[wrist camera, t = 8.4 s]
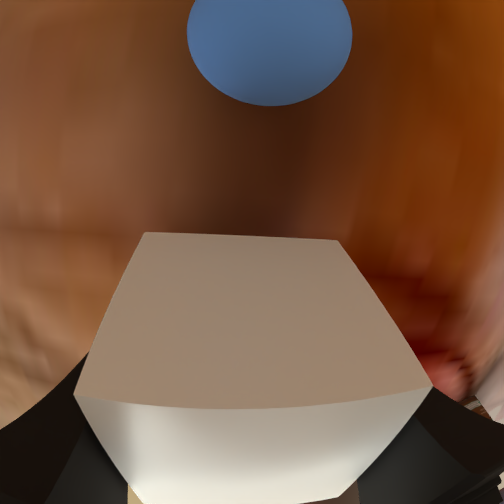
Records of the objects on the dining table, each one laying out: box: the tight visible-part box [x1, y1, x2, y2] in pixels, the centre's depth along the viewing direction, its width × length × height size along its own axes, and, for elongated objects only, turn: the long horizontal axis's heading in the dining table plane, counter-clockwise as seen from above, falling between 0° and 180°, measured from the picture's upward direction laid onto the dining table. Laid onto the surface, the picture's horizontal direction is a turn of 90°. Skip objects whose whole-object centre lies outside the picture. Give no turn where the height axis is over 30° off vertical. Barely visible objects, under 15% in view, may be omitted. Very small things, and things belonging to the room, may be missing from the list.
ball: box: [187, 0, 352, 106], centre depth 8 cm, size 5×5×5 cm
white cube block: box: [73, 232, 433, 504], centre depth 9 cm, size 6×6×6 cm
